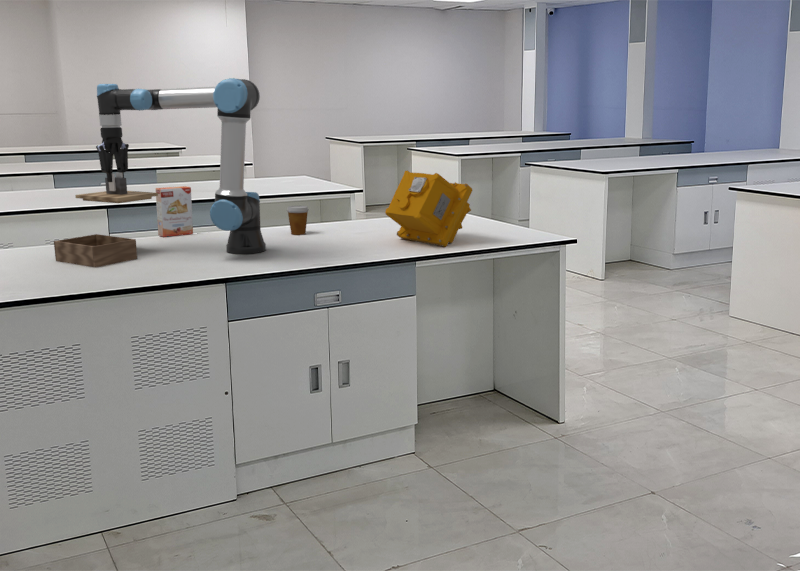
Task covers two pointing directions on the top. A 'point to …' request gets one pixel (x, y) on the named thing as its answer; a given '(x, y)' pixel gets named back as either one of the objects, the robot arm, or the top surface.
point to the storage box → (95, 250)
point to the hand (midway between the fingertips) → (116, 190)
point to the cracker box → (174, 211)
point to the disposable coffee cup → (297, 219)
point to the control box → (429, 208)
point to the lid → (117, 194)
